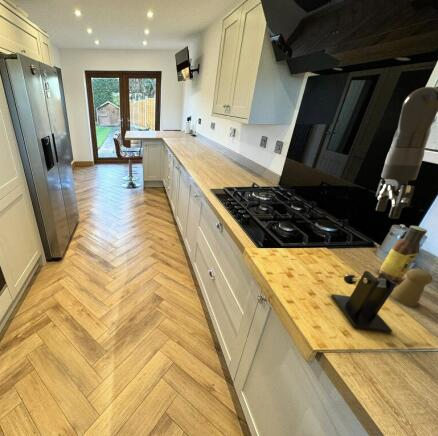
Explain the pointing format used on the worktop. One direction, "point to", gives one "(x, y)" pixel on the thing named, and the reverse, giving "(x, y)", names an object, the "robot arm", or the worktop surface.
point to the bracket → (366, 303)
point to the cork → (412, 287)
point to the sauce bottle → (403, 254)
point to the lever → (352, 280)
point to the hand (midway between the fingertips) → (386, 214)
